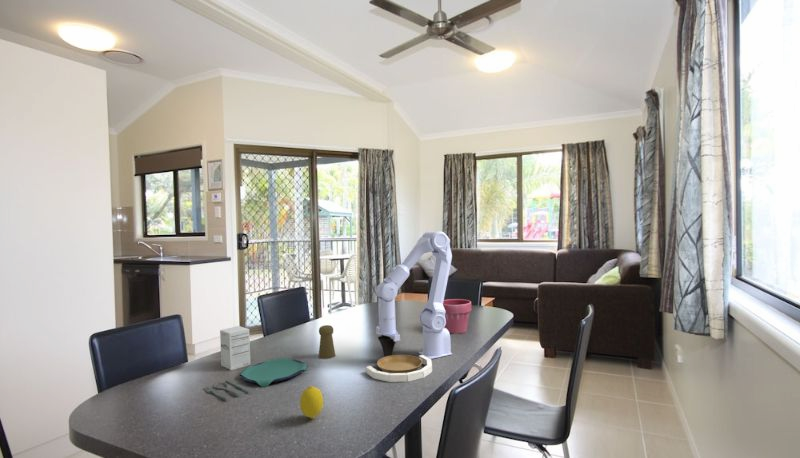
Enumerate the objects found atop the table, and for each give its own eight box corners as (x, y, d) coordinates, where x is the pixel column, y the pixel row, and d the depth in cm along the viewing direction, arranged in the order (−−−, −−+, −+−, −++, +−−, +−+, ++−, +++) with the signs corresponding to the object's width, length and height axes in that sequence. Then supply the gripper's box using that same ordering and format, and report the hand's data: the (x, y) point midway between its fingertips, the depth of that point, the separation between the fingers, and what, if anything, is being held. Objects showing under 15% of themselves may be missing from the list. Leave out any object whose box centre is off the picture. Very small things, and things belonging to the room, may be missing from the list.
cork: (331, 359, 144) (330, 328, 143) (315, 358, 145) (314, 327, 145) (337, 353, 150) (336, 323, 149) (322, 353, 151) (321, 323, 151)
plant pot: (440, 326, 183) (439, 298, 183) (471, 326, 182) (470, 298, 181) (438, 335, 169) (437, 305, 169) (472, 335, 167) (472, 304, 167)
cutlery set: (317, 372, 132) (317, 365, 132) (227, 406, 109) (226, 398, 109) (284, 360, 145) (283, 354, 145) (197, 389, 123) (196, 381, 123)
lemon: (302, 414, 102) (301, 382, 102) (324, 412, 103) (323, 381, 103) (298, 424, 97) (297, 391, 97) (322, 423, 97) (321, 390, 97)
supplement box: (220, 366, 140) (219, 329, 140) (241, 360, 145) (240, 325, 145) (230, 371, 135) (228, 333, 135) (251, 364, 140) (249, 328, 140)
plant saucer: (423, 362, 138) (423, 354, 138) (421, 378, 124) (420, 370, 124) (380, 361, 140) (380, 354, 140) (373, 378, 125) (373, 369, 125)
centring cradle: (422, 360, 139) (422, 354, 139) (444, 372, 128) (444, 366, 127) (366, 372, 129) (366, 366, 129) (384, 387, 118) (384, 380, 118)
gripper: (367, 315, 143) (369, 353, 143) (385, 323, 130) (387, 365, 131) (385, 312, 147) (386, 350, 147) (405, 320, 134) (406, 361, 134)
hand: (388, 357), depth 139 cm, fingers closed
